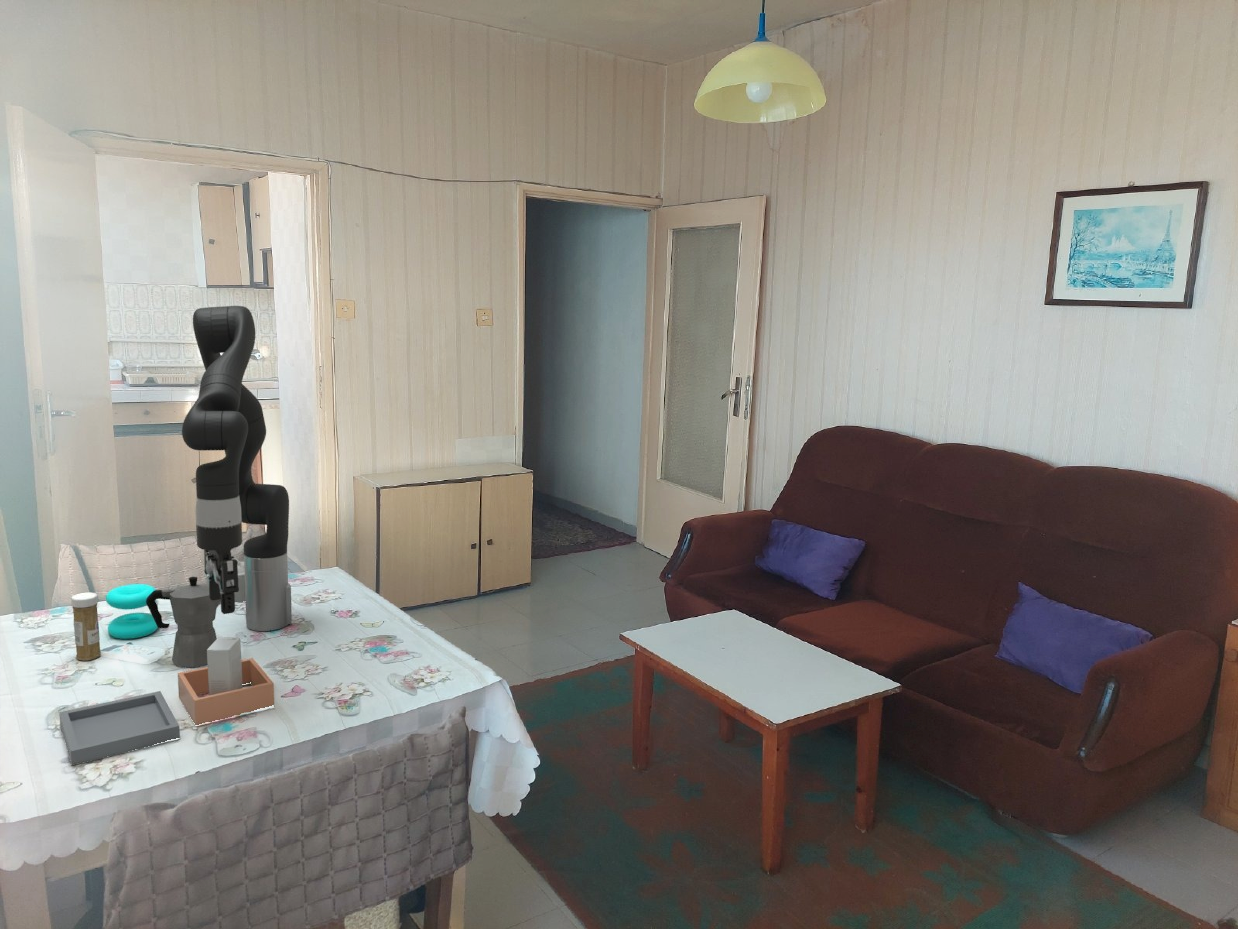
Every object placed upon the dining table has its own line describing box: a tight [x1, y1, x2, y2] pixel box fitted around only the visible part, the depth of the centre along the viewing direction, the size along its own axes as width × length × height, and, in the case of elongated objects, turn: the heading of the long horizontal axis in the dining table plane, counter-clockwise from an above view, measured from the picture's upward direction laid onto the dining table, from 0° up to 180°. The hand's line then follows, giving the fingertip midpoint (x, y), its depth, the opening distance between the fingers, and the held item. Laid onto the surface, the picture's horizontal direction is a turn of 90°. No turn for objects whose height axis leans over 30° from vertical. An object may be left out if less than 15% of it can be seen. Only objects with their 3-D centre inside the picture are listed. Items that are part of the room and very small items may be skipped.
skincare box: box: [207, 636, 244, 696], centre depth 165 cm, size 6×4×12 cm
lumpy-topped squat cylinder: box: [205, 557, 245, 605], centre depth 222 cm, size 10×13×9 cm
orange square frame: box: [177, 657, 275, 726], centre depth 165 cm, size 14×14×5 cm
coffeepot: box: [146, 576, 221, 669], centre depth 182 cm, size 15×9×18 cm, turn 110°
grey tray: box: [58, 690, 181, 766], centre depth 153 cm, size 16×16×2 cm
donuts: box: [105, 583, 159, 640], centre depth 196 cm, size 10×10×10 cm
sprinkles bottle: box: [71, 592, 102, 662], centre depth 181 cm, size 5×5×14 cm
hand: (222, 606), depth 162 cm, fingers open, 8 cm apart
